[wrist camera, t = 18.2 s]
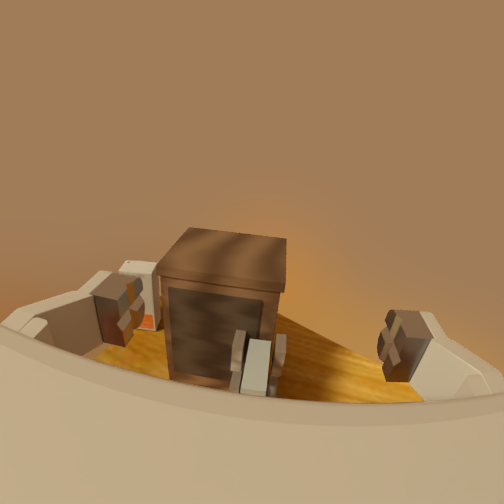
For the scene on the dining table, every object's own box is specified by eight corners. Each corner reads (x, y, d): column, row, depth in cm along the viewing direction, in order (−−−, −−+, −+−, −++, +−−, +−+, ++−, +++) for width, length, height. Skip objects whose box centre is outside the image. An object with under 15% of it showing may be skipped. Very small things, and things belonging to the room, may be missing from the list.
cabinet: (277, 340, 54) (294, 239, 46) (272, 414, 39) (296, 300, 31) (189, 327, 55) (189, 227, 47) (160, 395, 40) (144, 278, 32)
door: (267, 404, 40) (279, 342, 36) (262, 449, 33) (276, 392, 28) (242, 401, 41) (249, 338, 36) (234, 446, 33) (240, 388, 28)
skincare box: (125, 328, 52) (117, 270, 47) (132, 315, 56) (125, 259, 51) (157, 332, 53) (152, 273, 48) (162, 318, 56) (158, 261, 52)
